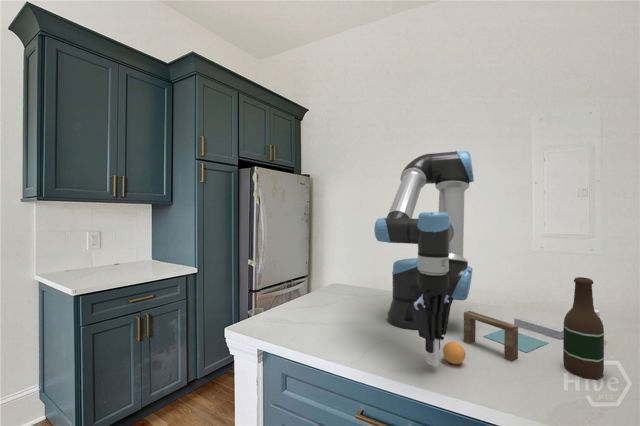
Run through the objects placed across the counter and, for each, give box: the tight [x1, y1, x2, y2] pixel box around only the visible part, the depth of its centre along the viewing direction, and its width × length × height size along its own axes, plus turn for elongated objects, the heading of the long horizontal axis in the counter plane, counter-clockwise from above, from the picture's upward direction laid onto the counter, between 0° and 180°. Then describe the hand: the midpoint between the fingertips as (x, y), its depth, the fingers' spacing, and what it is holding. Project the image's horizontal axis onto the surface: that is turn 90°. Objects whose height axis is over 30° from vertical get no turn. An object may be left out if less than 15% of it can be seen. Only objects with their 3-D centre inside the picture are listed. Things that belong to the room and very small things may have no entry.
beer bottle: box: [562, 276, 605, 381], centre depth 77 cm, size 8×8×24 cm
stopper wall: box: [513, 317, 563, 340], centre depth 102 cm, size 14×2×2 cm, turn 29°
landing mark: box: [482, 329, 549, 354], centre depth 96 cm, size 13×13×1 cm
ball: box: [442, 341, 466, 365], centre depth 81 cm, size 6×6×6 cm
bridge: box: [463, 310, 519, 362], centre depth 89 cm, size 3×14×9 cm, turn 30°
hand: (432, 363), depth 77 cm, fingers closed
